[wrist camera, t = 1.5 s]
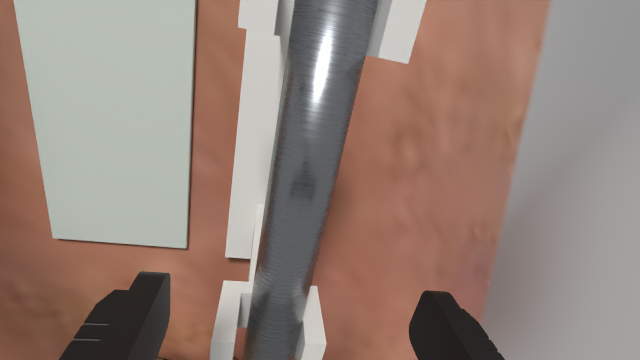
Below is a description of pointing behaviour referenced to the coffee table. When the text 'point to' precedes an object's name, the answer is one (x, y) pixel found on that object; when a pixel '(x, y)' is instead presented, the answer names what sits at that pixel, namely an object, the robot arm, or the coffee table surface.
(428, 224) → the coffee table surface
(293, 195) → the rail
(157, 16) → the mat
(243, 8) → the rack
